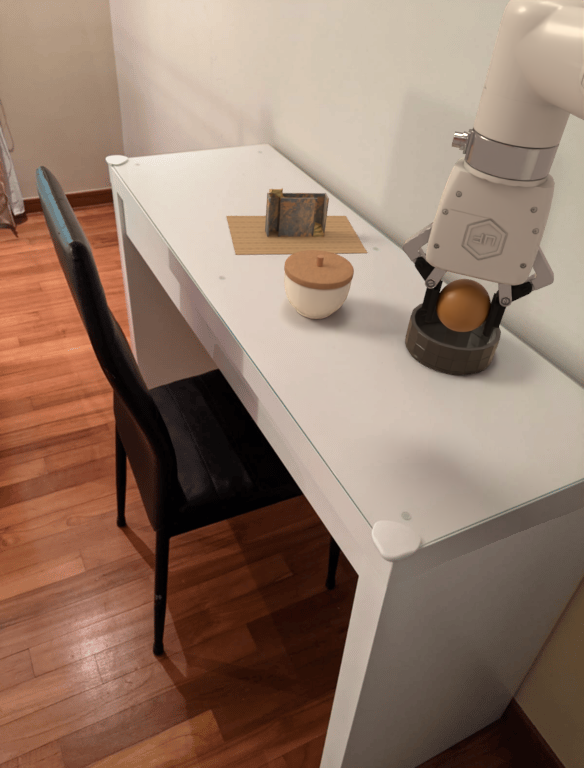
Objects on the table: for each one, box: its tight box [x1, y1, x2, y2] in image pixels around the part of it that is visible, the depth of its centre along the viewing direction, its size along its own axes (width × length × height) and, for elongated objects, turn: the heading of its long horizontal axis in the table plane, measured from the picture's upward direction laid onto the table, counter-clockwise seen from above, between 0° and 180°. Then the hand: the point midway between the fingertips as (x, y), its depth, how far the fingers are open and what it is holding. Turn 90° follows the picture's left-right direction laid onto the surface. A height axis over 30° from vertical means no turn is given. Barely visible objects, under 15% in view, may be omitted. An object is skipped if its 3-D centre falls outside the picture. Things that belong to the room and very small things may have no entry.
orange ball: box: [436, 278, 492, 332], centre depth 65 cm, size 6×6×6 cm
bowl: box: [404, 302, 502, 376], centre depth 92 cm, size 13×13×4 cm
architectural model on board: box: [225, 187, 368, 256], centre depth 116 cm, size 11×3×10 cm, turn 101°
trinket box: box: [283, 250, 355, 320], centre depth 96 cm, size 11×11×9 cm
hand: (458, 321), depth 66 cm, fingers closed on orange ball, 5 cm apart
